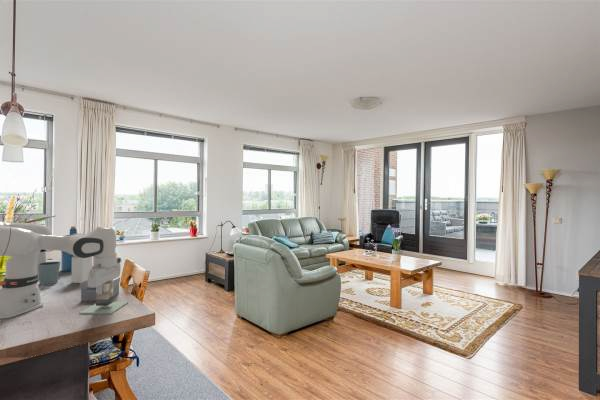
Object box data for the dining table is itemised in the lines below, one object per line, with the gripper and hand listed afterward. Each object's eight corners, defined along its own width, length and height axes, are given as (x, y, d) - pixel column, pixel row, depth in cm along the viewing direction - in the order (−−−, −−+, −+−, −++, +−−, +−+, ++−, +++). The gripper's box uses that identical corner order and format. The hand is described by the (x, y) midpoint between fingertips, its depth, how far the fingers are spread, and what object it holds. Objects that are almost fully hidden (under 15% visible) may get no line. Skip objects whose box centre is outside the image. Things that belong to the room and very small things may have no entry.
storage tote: (107, 301, 157) (107, 283, 157) (79, 301, 156) (79, 282, 156) (120, 293, 169) (120, 276, 169) (94, 293, 168) (94, 276, 168)
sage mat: (111, 314, 140) (111, 312, 140) (79, 313, 140) (79, 312, 140) (127, 303, 154) (127, 302, 154) (98, 303, 154) (98, 301, 154)
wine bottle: (88, 269, 221) (88, 226, 221) (66, 273, 210) (66, 227, 210) (78, 266, 229) (79, 225, 228) (57, 270, 217) (57, 226, 217)
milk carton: (91, 280, 193) (91, 249, 193) (82, 283, 186) (82, 251, 186) (80, 279, 194) (81, 248, 194) (71, 283, 187) (71, 250, 187)
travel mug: (44, 276, 201) (44, 244, 200) (47, 278, 196) (47, 246, 196) (31, 278, 196) (31, 246, 196) (34, 280, 192) (34, 247, 191)
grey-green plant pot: (33, 285, 180) (33, 264, 180) (46, 280, 191) (47, 261, 190) (51, 285, 181) (51, 264, 181) (64, 281, 191) (64, 261, 191)
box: (107, 305, 144) (107, 283, 144) (95, 305, 144) (96, 283, 144) (113, 302, 149) (113, 280, 149) (102, 302, 149) (102, 280, 149)
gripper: (98, 267, 136) (98, 299, 136) (123, 257, 157) (122, 285, 157) (83, 266, 136) (83, 299, 136) (110, 257, 156) (109, 285, 157)
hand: (104, 291), depth 147 cm, fingers closed on box, 5 cm apart
